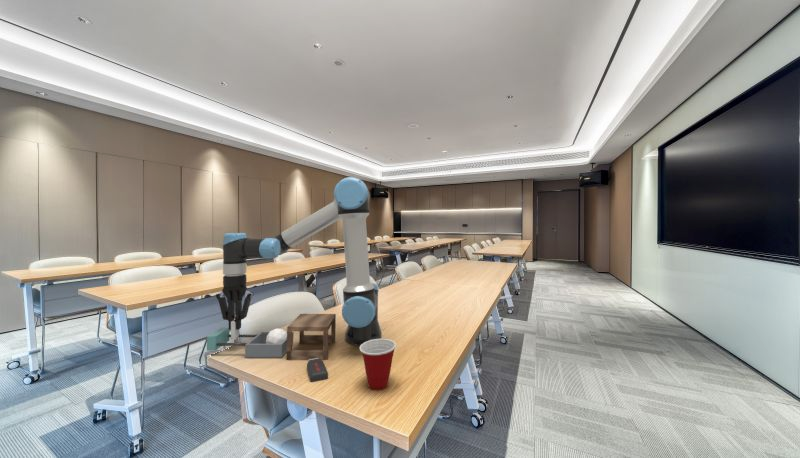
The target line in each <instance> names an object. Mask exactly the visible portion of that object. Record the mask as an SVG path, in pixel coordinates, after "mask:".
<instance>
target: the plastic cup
mask: <svg viewBox="0 0 800 458" xmlns="http://www.w3.org/2000/svg"><path fill="white" fill-rule="evenodd" d="M396 347H397V343H396V342H395V341H394V340H392V339H390V338H389V339H387V338H381V339H374V340H369V341H367V342H364V343H363V344H361V345H359V351H360V353H361V354H362V357H363V363H364V364H363V365H364V369H365V375H366V380H367V385H369V386H368V388H370V389H371V390H373V389H374V391H380V390H384V389H387V387H388V384H389V380H390V375H391V370H392V364H393V358H394V353H395V349H396Z"/></svg>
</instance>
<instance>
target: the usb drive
mask: <svg viewBox="0 0 800 458" xmlns="http://www.w3.org/2000/svg"><path fill="white" fill-rule="evenodd" d="M306 372H307V374H308V379H309V382H311V383H315V382H320V381H324V380H328V379H329V372H328V370H327V368H326V366H325V363H324V360H321V359H320V358H315V359H309V360H307V363H306Z"/></svg>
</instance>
